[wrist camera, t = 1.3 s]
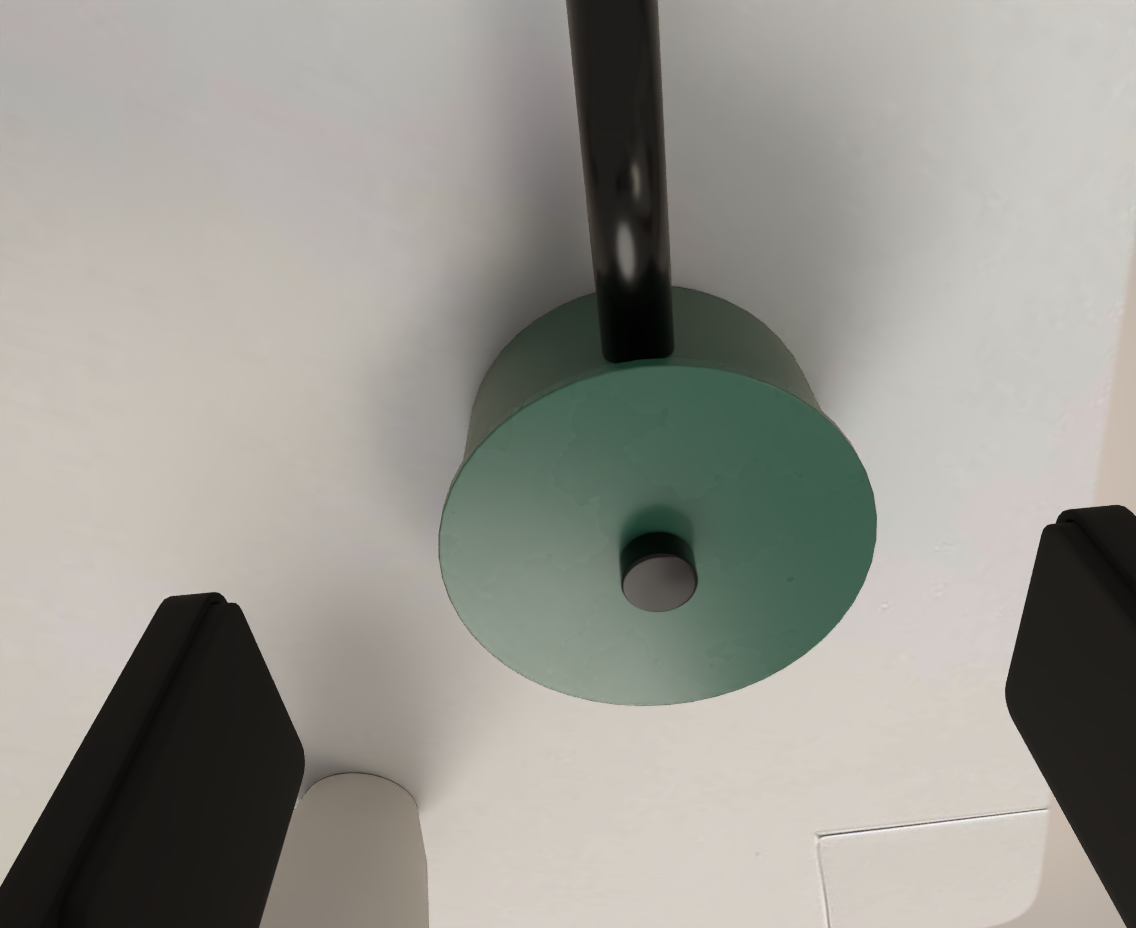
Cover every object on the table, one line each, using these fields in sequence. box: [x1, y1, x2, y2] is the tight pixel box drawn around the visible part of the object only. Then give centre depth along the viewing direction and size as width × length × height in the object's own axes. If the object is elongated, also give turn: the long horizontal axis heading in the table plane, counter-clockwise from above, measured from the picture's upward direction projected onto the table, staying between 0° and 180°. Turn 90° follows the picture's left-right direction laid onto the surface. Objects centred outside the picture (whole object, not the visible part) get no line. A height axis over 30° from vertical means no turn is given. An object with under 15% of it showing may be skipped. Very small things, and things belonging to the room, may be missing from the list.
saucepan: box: [439, 0, 877, 706], centre depth 22 cm, size 12×20×7 cm, turn 6°
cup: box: [259, 773, 429, 928], centre depth 34 cm, size 8×8×10 cm
